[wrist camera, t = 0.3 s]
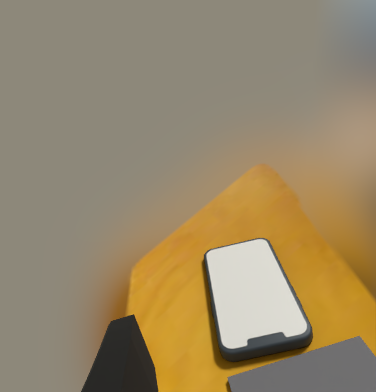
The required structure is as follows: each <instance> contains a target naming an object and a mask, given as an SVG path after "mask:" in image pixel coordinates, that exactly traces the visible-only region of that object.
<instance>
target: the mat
mask: <svg viewBox="0 0 376 392" xmlns="http://www.w3.org/2000/svg"><path fill="white" fill-rule="evenodd" d="M228 381H229V384H230V388H231V391H232V392H376V357H375V356H374V354H373V353H372V352H371V350H370V349H369V348H368V346H367V345H366V344H365V343H364V341H363V340H362V339H361V337H360V336H357V337H354V338H351V339H348V340H345V341H342V342H338V343H335V344H332V345H329V346H326V347H323V348H319V349H316V350H313V351H310V352H307V353H303V354H300V355H297V356H294V357H291V358H288V359H284V360H281V361H278V362H275V363H272V364H268V365H265V366H262V367H259V368H256V369H253V370H249V371H246V372H243V373H240V374H237V375H233V376H230V377H228Z"/></svg>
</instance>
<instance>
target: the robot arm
mask: <svg viewBox="0 0 376 392" xmlns="http://www.w3.org/2000/svg"><path fill="white" fill-rule="evenodd" d="M81 392H158V386H157V379H156V372H155V367H154V364H153V361H152V359H151V356H150V354H149V351H148V349H147V346H146V344H145V341H144V339H143V336H142V334H141V331H140V329H139V326H138V324H137V321H136V319H135V316H134V314H133V315H130V316H127V317H123V318H120V319H117V320H113V321H111V323H110V324H109V326H108V328H107V331H106V333H105V336H104V339H103V341H102V344H101V347H100V349H99V351H98V354H97V356H96V358H95V361H94V363H93V366H92V368H91V371H90V373H89V375H88V377H87V380H86V382H85V384H84V386H83V389H82V391H81Z"/></svg>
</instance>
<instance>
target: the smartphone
mask: <svg viewBox="0 0 376 392" xmlns="http://www.w3.org/2000/svg"><path fill="white" fill-rule="evenodd" d="M204 261H205V267H206V273H207V279H208V285H209V291H210V297H211V309H212V315H213V318H214V321H215V327H216V333H217V339H218V345H219V349H220V352H221V355H222V356H223V358H224V359H226V360H228V361H231V362H236V361H241V360H246V359H251V358H256V357H260V356H265V355H270V354H274V353H279V352H284V351H289V350H293V349H298V348H303V347H306V346H308V345H309V344H310V343H311V341H312V339H313V333H312V327H311V324H310V322H309V320H308V318H307V316H306V314H305V312H304V310H303V308H302V305H301V303H300V301H299V299H298V297H297V296H296V293H295V291H294V289H293V287H292V286H291V284H290V282H289V280H288V278H287V276H286V274H285V272H284V270H283V268H282V266H281V264H280V262H279V260H278V258H277V256H276V254H275V252H274V250H273V248H272V246H271V244H270V242H269V241H268V240H267V239H265V238H257V239H252V240H248V241H244V242H239V243H235V244H231V245H226V246H222V247H218V248H213V249H210V250H208V251H207V252H206V253H205V254H204Z"/></svg>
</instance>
